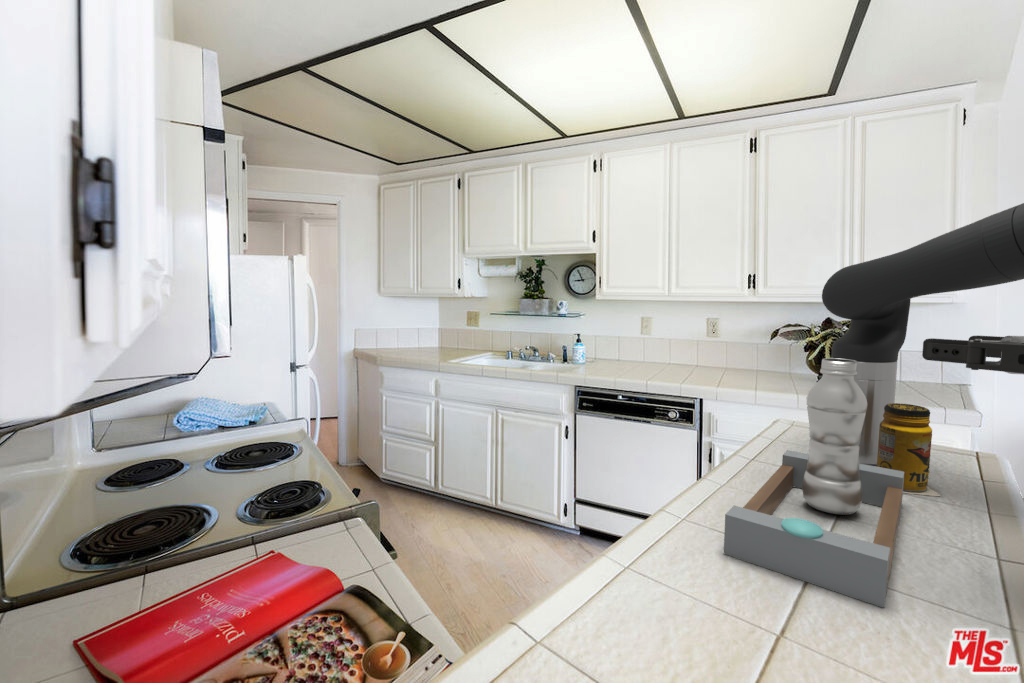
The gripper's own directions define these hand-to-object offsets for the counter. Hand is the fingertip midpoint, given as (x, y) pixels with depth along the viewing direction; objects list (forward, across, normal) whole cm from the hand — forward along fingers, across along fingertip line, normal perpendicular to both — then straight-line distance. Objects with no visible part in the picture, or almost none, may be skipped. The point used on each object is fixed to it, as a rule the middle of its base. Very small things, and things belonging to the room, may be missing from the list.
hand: (947, 347), depth 51 cm
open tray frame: (+9, +5, +23) cm, 25 cm away
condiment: (+13, -18, +23) cm, 32 cm away
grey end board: (+3, +17, +23) cm, 29 cm away
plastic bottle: (+11, 0, +23) cm, 26 cm away
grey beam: (+14, -6, +23) cm, 27 cm away
